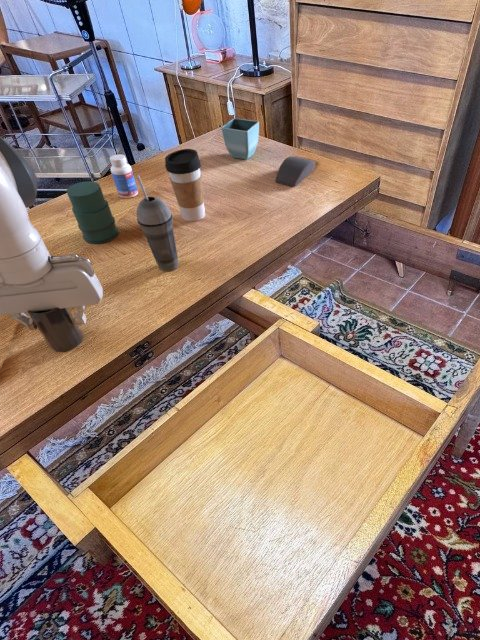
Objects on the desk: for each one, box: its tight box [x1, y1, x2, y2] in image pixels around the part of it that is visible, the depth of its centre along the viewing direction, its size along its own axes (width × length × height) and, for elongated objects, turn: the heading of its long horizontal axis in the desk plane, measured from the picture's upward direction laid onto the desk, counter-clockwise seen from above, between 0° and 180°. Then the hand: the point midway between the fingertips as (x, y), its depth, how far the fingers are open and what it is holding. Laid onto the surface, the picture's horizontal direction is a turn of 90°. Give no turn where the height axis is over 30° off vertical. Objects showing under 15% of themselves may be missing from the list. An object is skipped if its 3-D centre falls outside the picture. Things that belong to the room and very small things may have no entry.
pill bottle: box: [109, 153, 139, 199], centre depth 120 cm, size 6×5×10 cm
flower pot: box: [220, 117, 260, 161], centre depth 135 cm, size 9×9×9 cm
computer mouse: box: [274, 156, 316, 188], centre depth 128 cm, size 8×14×4 cm, turn 151°
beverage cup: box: [136, 174, 179, 272], centre depth 93 cm, size 7×7×20 cm
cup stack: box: [66, 180, 120, 245], centre depth 106 cm, size 9×9×12 cm
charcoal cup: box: [27, 308, 84, 353], centre depth 82 cm, size 6×6×9 cm
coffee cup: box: [164, 148, 206, 222], centre depth 109 cm, size 8×8×15 cm
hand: (58, 325), depth 82 cm, fingers open, 7 cm apart
